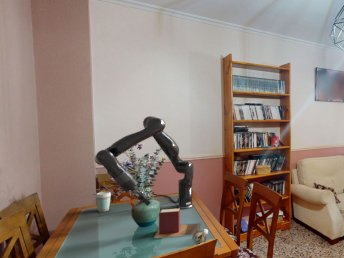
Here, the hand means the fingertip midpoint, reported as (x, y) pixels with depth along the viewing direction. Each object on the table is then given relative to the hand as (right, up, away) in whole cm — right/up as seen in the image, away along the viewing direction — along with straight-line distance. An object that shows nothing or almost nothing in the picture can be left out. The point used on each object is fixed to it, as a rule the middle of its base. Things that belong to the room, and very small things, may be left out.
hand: (149, 204), depth 139 cm
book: (+10, -16, +3) cm, 19 cm away
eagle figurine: (+30, -18, -6) cm, 36 cm away
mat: (+14, -17, +5) cm, 22 cm away
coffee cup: (-50, -14, +33) cm, 62 cm away
